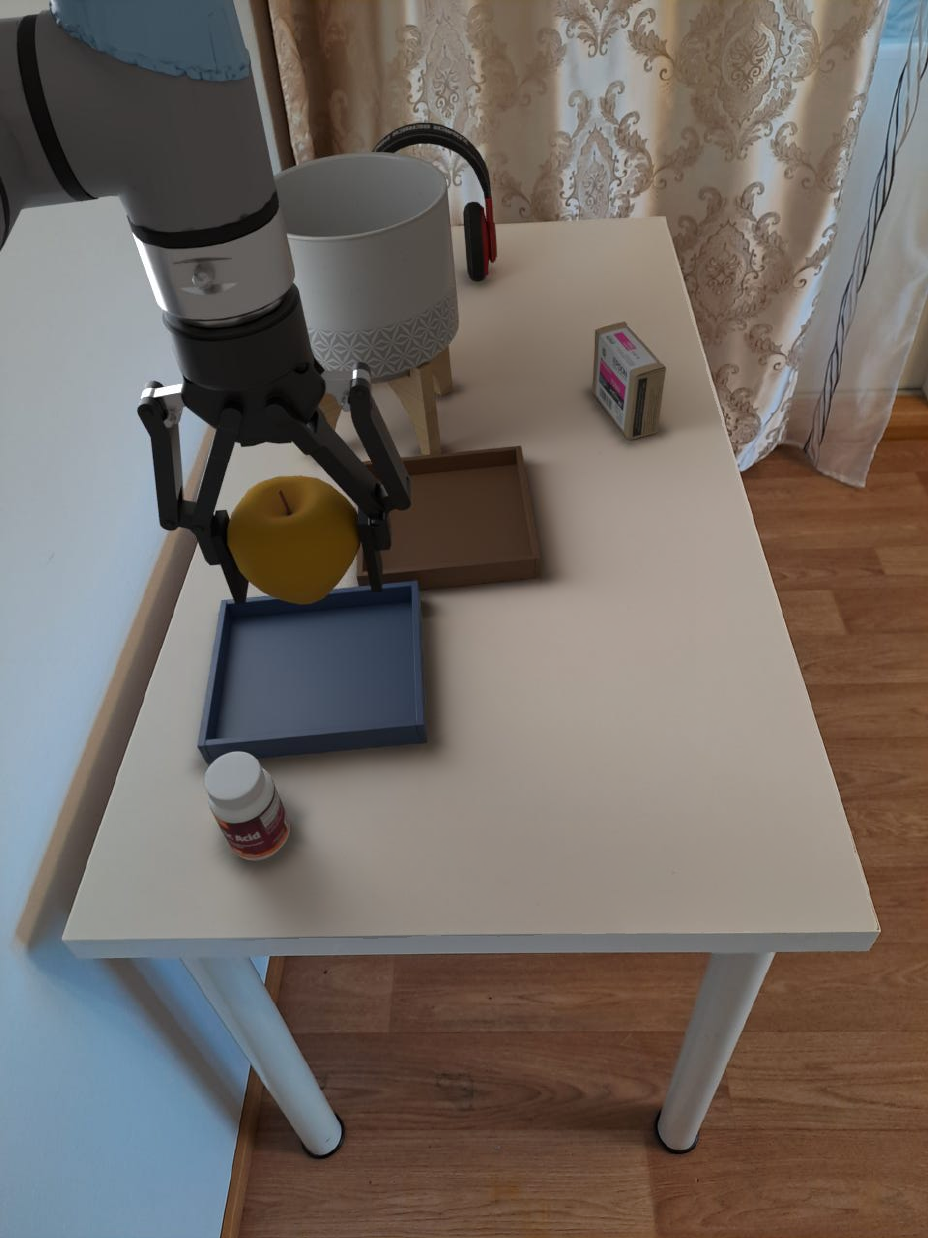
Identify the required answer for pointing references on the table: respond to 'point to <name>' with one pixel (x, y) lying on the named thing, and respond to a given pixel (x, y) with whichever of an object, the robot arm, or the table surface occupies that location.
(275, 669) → the fruit tray
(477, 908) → the table surface
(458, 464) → the medicine tray
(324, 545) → the apple
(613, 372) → the ink box
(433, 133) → the headphones
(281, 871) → the table surface
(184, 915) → the table surface
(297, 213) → the planter
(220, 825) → the pill bottle
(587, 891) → the table surface
